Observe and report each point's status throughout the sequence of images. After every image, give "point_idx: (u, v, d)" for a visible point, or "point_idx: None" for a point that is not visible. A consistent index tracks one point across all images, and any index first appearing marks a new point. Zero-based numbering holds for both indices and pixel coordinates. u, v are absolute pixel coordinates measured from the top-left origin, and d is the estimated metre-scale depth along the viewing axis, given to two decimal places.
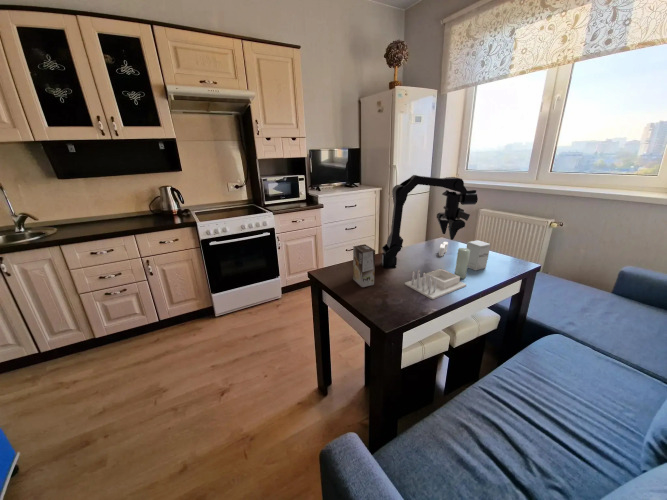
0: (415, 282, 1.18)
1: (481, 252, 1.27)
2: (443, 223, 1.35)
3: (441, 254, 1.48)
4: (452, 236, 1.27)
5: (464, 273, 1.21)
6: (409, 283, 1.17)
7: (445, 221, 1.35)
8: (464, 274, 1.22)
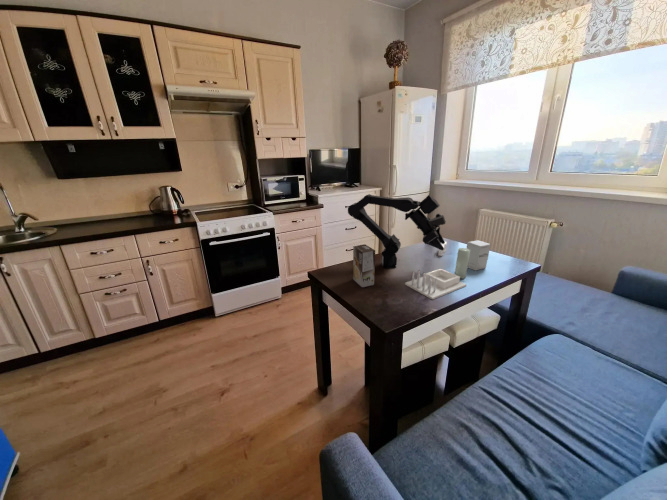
0: (415, 282, 1.18)
1: (481, 252, 1.27)
2: None
3: (441, 254, 1.48)
4: (439, 247, 1.19)
5: (464, 273, 1.21)
6: (409, 283, 1.17)
7: None
8: (464, 274, 1.22)
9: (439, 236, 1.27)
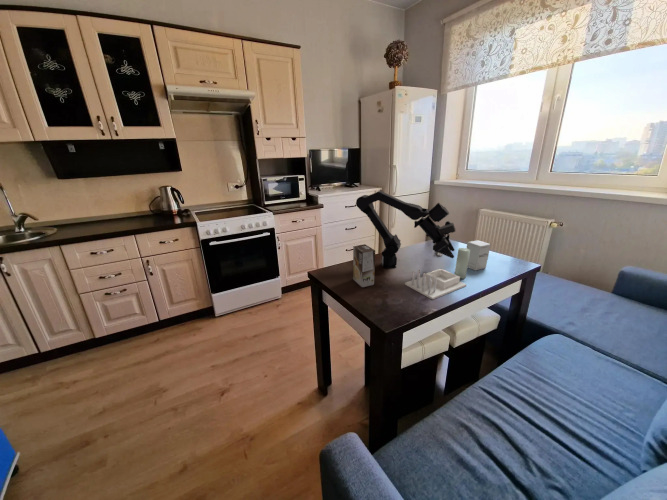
0: (415, 282, 1.18)
1: (481, 252, 1.27)
2: None
3: (440, 253, 1.48)
4: (450, 255, 1.18)
5: (464, 273, 1.21)
6: (409, 283, 1.17)
7: None
8: (464, 274, 1.22)
9: (449, 243, 1.26)
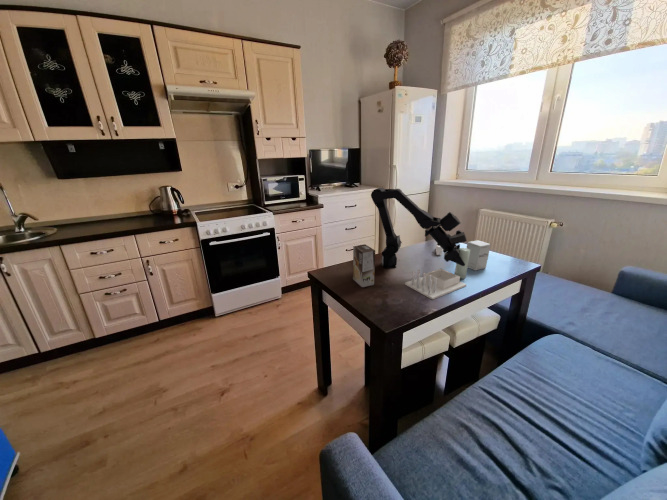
0: (415, 282, 1.18)
1: (481, 252, 1.27)
2: None
3: (439, 253, 1.49)
4: (461, 263, 1.19)
5: (464, 273, 1.21)
6: (409, 283, 1.17)
7: None
8: (464, 274, 1.22)
9: None
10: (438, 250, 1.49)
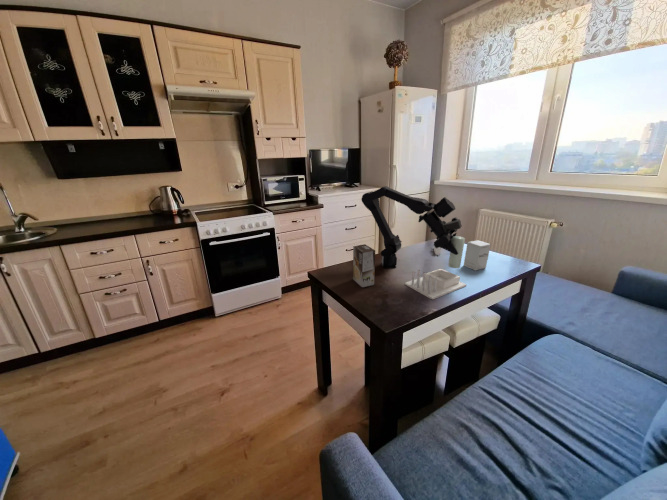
0: (415, 282, 1.18)
1: (481, 252, 1.27)
2: None
3: (438, 253, 1.50)
4: (453, 251, 1.14)
5: (457, 262, 1.16)
6: (409, 283, 1.17)
7: (450, 238, 1.19)
8: (457, 263, 1.16)
9: None
10: (437, 250, 1.49)
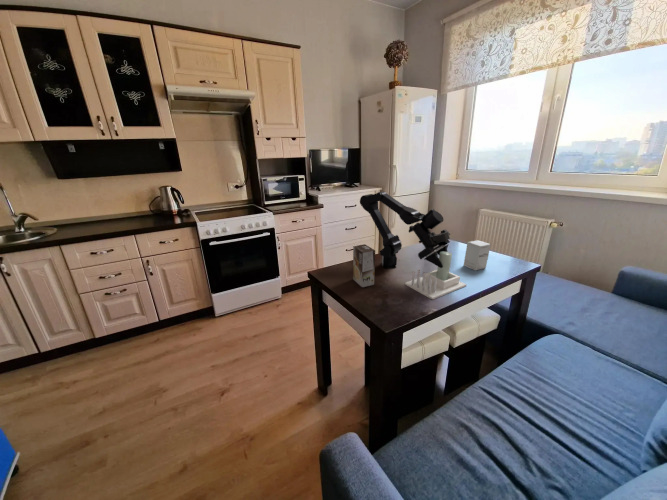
0: (415, 282, 1.18)
1: (481, 252, 1.27)
2: None
3: None
4: (438, 264, 1.13)
5: (444, 278, 1.15)
6: (409, 283, 1.17)
7: (441, 249, 1.19)
8: (444, 279, 1.15)
9: None
10: None
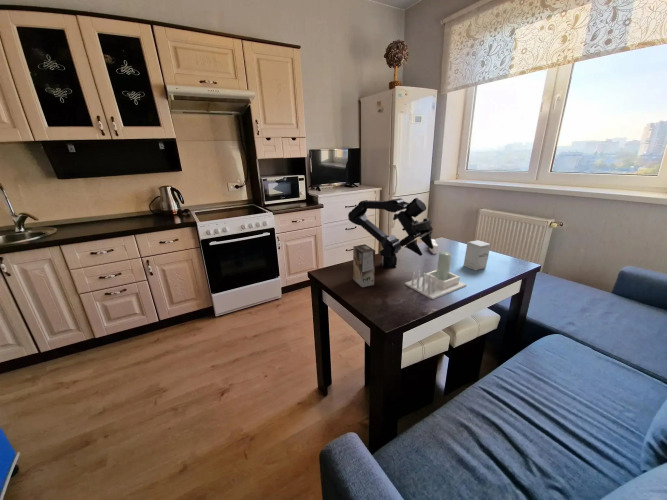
0: (415, 282, 1.18)
1: (481, 252, 1.27)
2: (425, 239, 1.25)
3: (435, 252, 1.51)
4: (417, 252, 1.18)
5: (443, 278, 1.15)
6: (409, 283, 1.17)
7: (425, 236, 1.24)
8: (444, 279, 1.15)
9: (428, 241, 1.24)
10: (434, 249, 1.50)
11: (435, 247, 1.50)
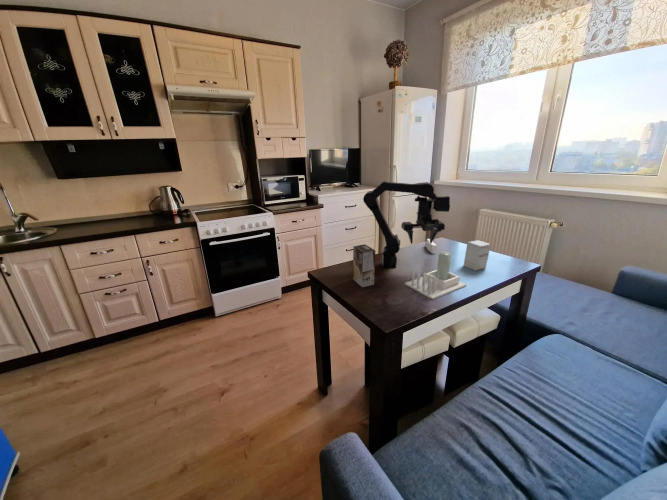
0: (415, 282, 1.18)
1: (481, 252, 1.27)
2: (431, 232, 1.28)
3: (434, 251, 1.52)
4: (410, 239, 1.28)
5: (443, 278, 1.15)
6: (409, 283, 1.17)
7: (433, 230, 1.27)
8: (444, 279, 1.15)
9: (432, 235, 1.27)
10: (433, 248, 1.51)
11: (434, 247, 1.51)
